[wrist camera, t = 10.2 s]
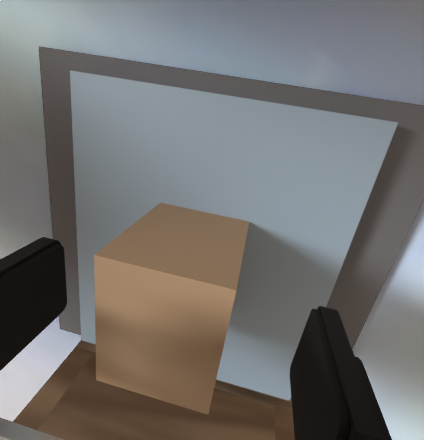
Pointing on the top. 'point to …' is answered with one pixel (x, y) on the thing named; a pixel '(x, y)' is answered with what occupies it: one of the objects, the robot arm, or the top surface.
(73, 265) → the mat
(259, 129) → the lid
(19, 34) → the top surface
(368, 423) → the robot arm
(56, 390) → the walnut box
